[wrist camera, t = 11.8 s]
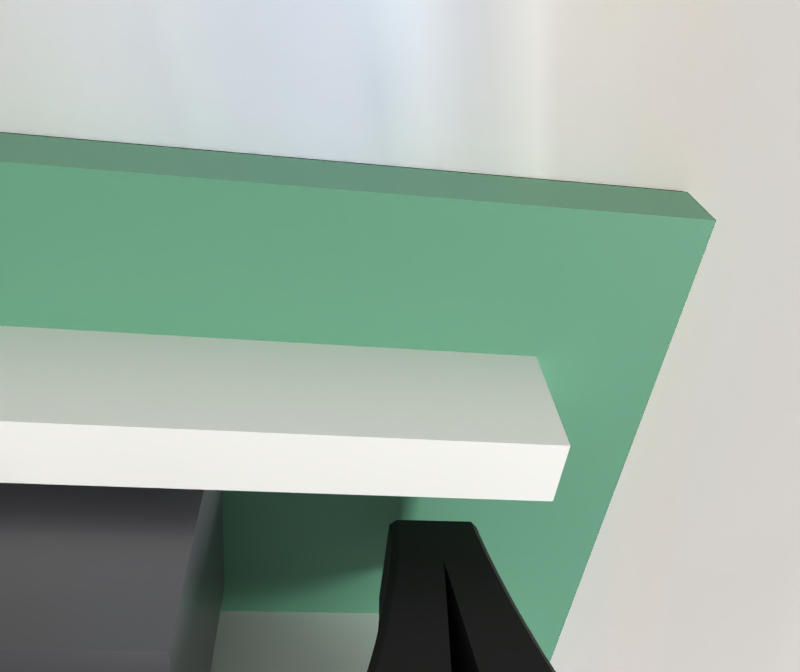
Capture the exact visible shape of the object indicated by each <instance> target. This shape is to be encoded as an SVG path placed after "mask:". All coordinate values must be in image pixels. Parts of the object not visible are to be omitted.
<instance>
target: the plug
mask: <svg viewBox="0 0 800 672" xmlns="http://www.w3.org/2000/svg"><path fill="white" fill-rule="evenodd" d="M223 591H224V546H223V507H222V490H201V489H172V488H143V487H113V486H84V485H54V484H25V483H0V672H210V671H211V665H212V658H213V652H214V646H215V640H216V634H217V628H218V621H219V615H220V609H221V603H222V597H223Z"/></svg>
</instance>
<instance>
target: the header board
mask: <svg viewBox="0 0 800 672" xmlns="http://www.w3.org/2000/svg"><path fill="white" fill-rule="evenodd" d="M715 222H716V220H715V219H714V218H713V217H712V216H711V215H710V214H709V213H708V212H707V211H706V210H705V209H704V208H703V207H702V206H701V205H700V204H699V203H698V202H697V201H696V200H695V199H694V198H693V197H692V196H691V195H690V194H689V193H688V192H680V191H669V190H657V189H646V188H634V187H623V186H611V185H599V184H588V183H576V182H565V181H553V180H542V179H530V178H519V177H507V176H495V175H484V174H472V173H461V172H449V171H438V170H426V169H414V168H403V167H391V166H380V165H368V164H357V163H345V162H334V161H322V160H310V159H299V158H287V157H276V156H264V155H253V154H241V153H230V152H218V151H206V150H195V149H183V148H172V147H160V146H149V145H137V144H126V143H114V142H102V141H91V140H79V139H68V138H56V137H45V136H33V135H22V134H10V133H0V483H25V484H54V485H84V486H113V487H143V488H172V489H201V490H222V507H223V546H224V591H223V597H222V603H221V609H220V615H219V621H218V628H217V634H216V640H215V646H214V652H213V658H212V665H211V671H210V672H367V670H368V667H369V663H370V660H371V656H372V653H373V649H374V645H375V641H376V637H377V633H378V624H379V594H380V587H381V580H382V573H383V566H384V559H385V551H386V544H387V537H388V530H389V524H391V523H393V522H394V521H396V520H425V521H465V522H472V523H473V524H474V525H475V526H476V527H477V530H478V532H479V534H480V536H481V539H482V541H483V543H484V545H485V547H486V549H487V551H488V554H489V556H490V558H491V560H492V562H493V564H494V566H495V568H496V570H497V572H498V574H499V576H500V577H501V579H502V581H503V583H504V585H505V587H506V589H507V591H508V592H509V594H510V596H511V598H512V600H513V602H514V603H515V605H516V607H517V609H518V611H519V612H520V614H521V616H522V617H523V619H524V621H525V623H526V624H527V626H528V628H529V629H530V631H531V633H532V634H533V636H534V638H535V639H536V641H537V643H538V644H539V646H540V648H541V650H542V651H543V653H544V654H545V656H546V657H547V659H548V661H549V662H550V660H551V657H552V655H553V652H554V649H555V647H556V644H557V641H558V639H559V636H560V634H561V631H562V628H563V626H564V623H565V620H566V618H567V615H568V612H569V610H570V607H571V604H572V602H573V599H574V596H575V594H576V591H577V588H578V586H579V583H580V580H581V578H582V575H583V573H584V570H585V567H586V565H587V562H588V559H589V557H590V554H591V551H592V549H593V546H594V543H595V541H596V538H597V535H598V533H599V530H600V527H601V525H602V522H603V519H604V517H605V514H606V511H607V509H608V506H609V504H610V501H611V498H612V496H613V493H614V490H615V488H616V485H617V482H618V480H619V477H620V474H621V472H622V469H623V466H624V464H625V461H626V458H627V456H628V453H629V450H630V448H631V445H632V443H633V440H634V437H635V435H636V432H637V429H638V427H639V424H640V421H641V419H642V416H643V413H644V411H645V408H646V405H647V403H648V400H649V397H650V395H651V392H652V389H653V387H654V384H655V381H656V379H657V376H658V374H659V371H660V368H661V366H662V363H663V360H664V358H665V355H666V352H667V350H668V347H669V344H670V342H671V339H672V336H673V334H674V331H675V328H676V326H677V323H678V320H679V318H680V315H681V313H682V310H683V307H684V305H685V302H686V299H687V297H688V294H689V291H690V289H691V286H692V283H693V281H694V278H695V275H696V273H697V270H698V267H699V265H700V262H701V259H702V257H703V254H704V251H705V249H706V246H707V244H708V241H709V238H710V236H711V233H712V230H713V228H714V225H715Z"/></svg>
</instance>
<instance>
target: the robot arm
mask: <svg viewBox="0 0 800 672" xmlns="http://www.w3.org/2000/svg"><path fill="white" fill-rule="evenodd" d="M367 672H555V670H554V669H553V667H552V665H551V664H550V662H549V661H548V659H547V657H546V656H545V654H544V653H543V651H542V650H541V648H540V646H539V644H538V643H537V641H536V639H535V638H534V636H533V634H532V633H531V631H530V629H529V628H528V626H527V624H526V623H525V621H524V619H523V617H522V616H521V614H520V612H519V611H518V609H517V607H516V605H515V603H514V602H513V600H512V598H511V596H510V594H509V592H508V591H507V589H506V587H505V585H504V583H503V581H502V579H501V577H500V576H499V574H498V572H497V570H496V568H495V566H494V564H493V562H492V560H491V558H490V556H489V554H488V551H487V549H486V547H485V545H484V543H483V541H482V539H481V536H480V534H479V532H478V530H477V527H476V526H475V525H474V524H473V523H472V522H465V521H425V520H396V521H394V522H393V523H391V524H389V530H388V537H387V544H386V551H385V559H384V566H383V573H382V580H381V587H380V594H379V624H378V633H377V637H376V641H375V645H374V649H373V653H372V656H371V660H370V663H369V667H368V670H367Z"/></svg>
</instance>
